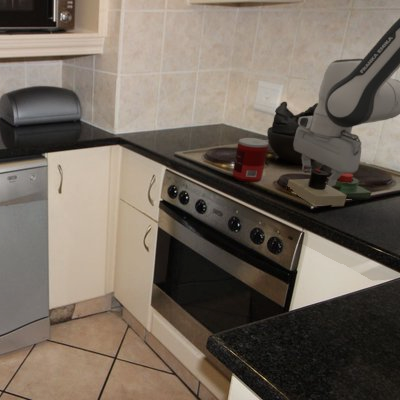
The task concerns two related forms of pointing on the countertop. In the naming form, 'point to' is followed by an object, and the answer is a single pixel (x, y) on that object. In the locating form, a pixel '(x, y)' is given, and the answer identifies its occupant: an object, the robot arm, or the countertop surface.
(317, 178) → the oven knob
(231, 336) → the countertop surface
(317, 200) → the panel
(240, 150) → the canned food
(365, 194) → the button housing
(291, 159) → the coal bowl
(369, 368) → the countertop surface
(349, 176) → the button
